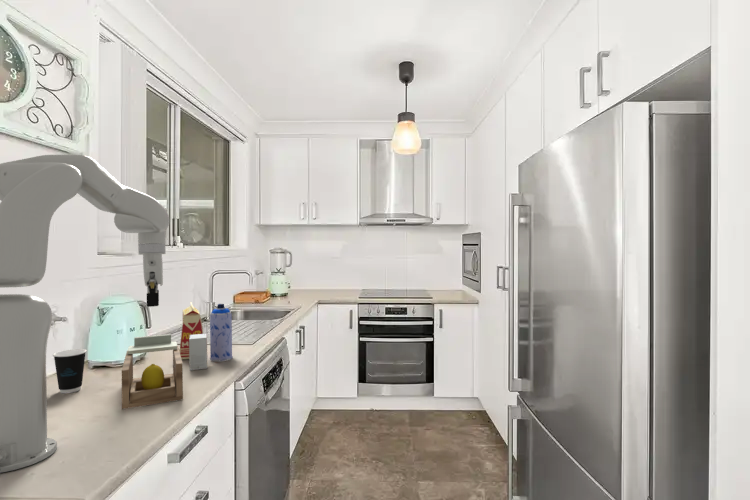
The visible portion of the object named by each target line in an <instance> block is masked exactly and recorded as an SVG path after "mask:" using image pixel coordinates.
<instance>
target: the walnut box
mask: <svg viewBox="0 0 750 500" xmlns="http://www.w3.org/2000/svg"><path fill="white" fill-rule="evenodd" d="M179 349H180V346H179V345H178V344H177V349H175V350H172V369H173V370H172V373H167V374H165V373H164V382H163V385H162V386H161V388H155V389H148V390H145V389H144V388H143V386H142V382H141V378H142V377H136V378H135V377H134V354H128V350H126V353H125V357H124V360H123V363H122V368H121V410H126V409H131V408H138V407H139V408H140V407H142V406H143V407H144V406H150V405H156V404H157V405H158V404H164V403H169V401H171V402H177V401H182V400H181V399H184V390H183V389H184V386H183V384H184V381H183V377H184V376H183V359H181V355H180V351H179ZM176 400H177V401H176Z"/></svg>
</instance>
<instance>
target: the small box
mask: <svg viewBox="0 0 750 500" xmlns="http://www.w3.org/2000/svg"><path fill="white" fill-rule="evenodd" d="M188 363H189V364H188V365H189V371H196V370H205V369H208V335H207V333H203V334H195V335H190V338H189V359H188Z"/></svg>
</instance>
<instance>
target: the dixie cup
mask: <svg viewBox="0 0 750 500" xmlns="http://www.w3.org/2000/svg"><path fill="white" fill-rule="evenodd" d="M87 351H88V350H87V349H84V348H74V349H66V350H65V349H64V350H61V351H56V352H54V353H53V354H52V356H53V357H54V359H53V360H54V366H55V374H56V378H57V379H56V380H57V385H58V390H59V393H60V394H71V393H75V392H76V393H77V392H78V391H81V388H82V385H83V377H84V369H85V360H86V353H87Z"/></svg>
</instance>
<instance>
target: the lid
mask: <svg viewBox="0 0 750 500" xmlns="http://www.w3.org/2000/svg"><path fill="white" fill-rule="evenodd" d="M133 340H134V342H133V343H134V345H129V346H128V347H127V351H128V354H133V355H135V354H144V353H145V354H146V353H153V352H154V353H155V352H165V351H173V350H175V349H177V345H178V343H177V341H172V334H171V333H168V334H167V333H166V334H159V335H157V334H156V335H146V336H134V338H133Z"/></svg>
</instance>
